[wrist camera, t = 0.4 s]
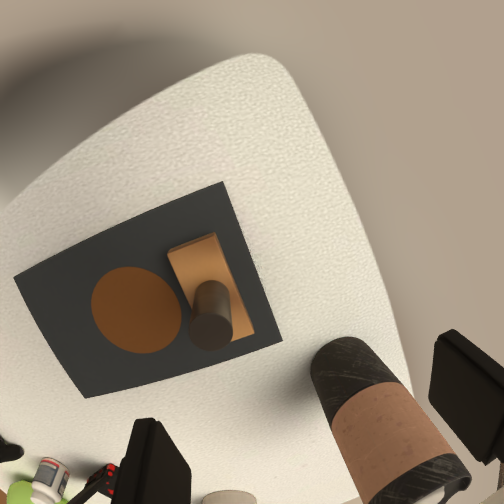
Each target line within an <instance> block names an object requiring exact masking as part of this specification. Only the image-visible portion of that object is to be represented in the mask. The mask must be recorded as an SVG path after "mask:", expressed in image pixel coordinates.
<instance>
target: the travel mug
mask: <svg viewBox="0 0 504 504" xmlns="http://www.w3.org/2000/svg"><path fill="white" fill-rule="evenodd" d="M311 378H312V381H313V384H314V386H315V389H316V392H317V394H318V397H319V400H320V402H321V405H322V407H323V410H324V413H325V415H326V418H327V421H328V423H329V426H330V429H331V431H332V434H333V436H334V438H335V441H336V443H337V445H338V447H339V450H340V452H341V454H342V457H343V459H344V461H345V463H346V466H347V468H348V470H349V472H350V475H351V477H352V479H353V481H354V484H355V486H356V488H357V490H358V493H359V495H360V497H361V499H362V502H363V504H445V503H446V502H447V501H448V500H449V499H450V498H451V497H452V496H453V495H454V494H455V493H457V492H458V491H464V490H466V489H467V488H468V487H469V485H470V483H471V480H472V477H471V475H470V473H469V471H468V470H467V469H466V467H465V466H464V464H463V463H462V462H461V460H460V459H459V458H458V457H457V455H456V454H455V452H454V451H453V450H452V448H451V447H450V445H449V444H448V443H447V441H446V440H445V439H444V437H443V436H442V435H441V433H440V432H439V431H438V429H437V428H436V427H435V425H434V424H433V423H432V421H431V420H430V419H429V417H428V416H427V415H426V413H425V412H424V411H423V410H422V408H421V407H420V406H419V405H418V403H417V402H416V400H415V399H414V398H413V397H412V395H411V394H410V393H409V391H408V390H407V389H406V388H405V387H404V385H403V384H402V383H401V382H400V381H399V380H398V378H397V377H396V376H395V375H394V374H393V373H392V372H391V370H390V369H389V368H388V367H387V366H386V365H385V364H384V363H383V361H382V360H381V359H380V358H379V357H378V356H377V355H376V354H375V353H374V351H373V350H372V349H371V348H370V347H369V346H368V345H367V344H366V343H365V342H364V341H362V340H360V339H358V338H354V337H343V338H339V339H336V340H334V341H332V342H330V343H328V344H327V345H325V346H324V347H323V348H322V349H321V350H320V351H319V352H318V353H317V354H316V356H315V357H314V359H313V361H312V364H311Z"/></svg>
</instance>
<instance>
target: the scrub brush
mask: <svg viewBox="0 0 504 504" xmlns="http://www.w3.org/2000/svg"><path fill="white" fill-rule="evenodd" d="M167 256H168V258H169V260H170V263H171V265H172V267H173V269H174V272H175V274H176V276H177V278H178V281H179V283H180V285H181V287H182V289H183V291H184V294H185V296H186V298H187V300H188V302H189V304H190V306H191V308H192V312H191V318H190V323H189V329H188V333H189V337H190V340H191V341H192V343H193V344H194V345H195V346H197V347H198V348H200V349H202V350H205V351H218V350H221V349H223V348H224V347H226V346H227V345H228V344H229V343H230V342H231V341H234V340H237V339H240V338H243V337H246V336H248V335H251V334H254V328H253V324H252V322H251V319H250V317H249V315H248V312H247V310H246V307H245V305H244V303H243V300H242V298H241V295H240V293H239V290H238V288H237V285H236V283H235V281H234V278H233V276H232V273H231V271H230V268H229V266H228V263H227V261H226V258H225V256H224V253H223V251H222V248H221V246H220V243H219V241H218V238H217V236H216V233H215V232H213V233H210V234H208V235H205V236H202V237H200V238H197V239H195V240H192V241H189V242H187V243H184V244H182V245H179V246H177V247H174V248H172V249H170V250H169V252H168V253H167Z"/></svg>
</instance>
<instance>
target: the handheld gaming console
mask: <svg viewBox="0 0 504 504" xmlns="http://www.w3.org/2000/svg"><path fill="white" fill-rule="evenodd" d="M118 470H119V467H117V466H114V465H112V464H109V465H106V466H104V467H103V468H102V469H100V470H99V471H97V472H96V473H94V474H93V475H92V476H90V477H89V479H88V480H87V483H86V484H85V487H84V489H83V490H82V491H81V492H80V493H78V494H77V495H76V496H75V497H74V498H72V499H71V500H70V501H69V502H68V503H66V504H84V503H85V502H86V501H87V500H88V499H89V498H90V497H92V496H93V495H94V494H95V493H96V492H97V491H98V492H99V493H101V494H103V495H105V496H107V497H109V498H111V499H112V495H113V491H114V487H115V483H116V478H117V474H118Z"/></svg>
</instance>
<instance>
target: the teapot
mask: <svg viewBox="0 0 504 504" xmlns="http://www.w3.org/2000/svg"><path fill="white" fill-rule="evenodd" d="M32 492H34V490H33V489H32V483H30V482H27V481H25V480H21V481H19V482H16V483H13V484H11V485H10V487H9V489H8V493H7V504H34V503H33V502H32V501H31V499H30V498H31V495H32ZM66 503H68V501H67V500H65V499H63V498H62V499H61V501H60V502H57V503H55V504H66Z"/></svg>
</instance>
